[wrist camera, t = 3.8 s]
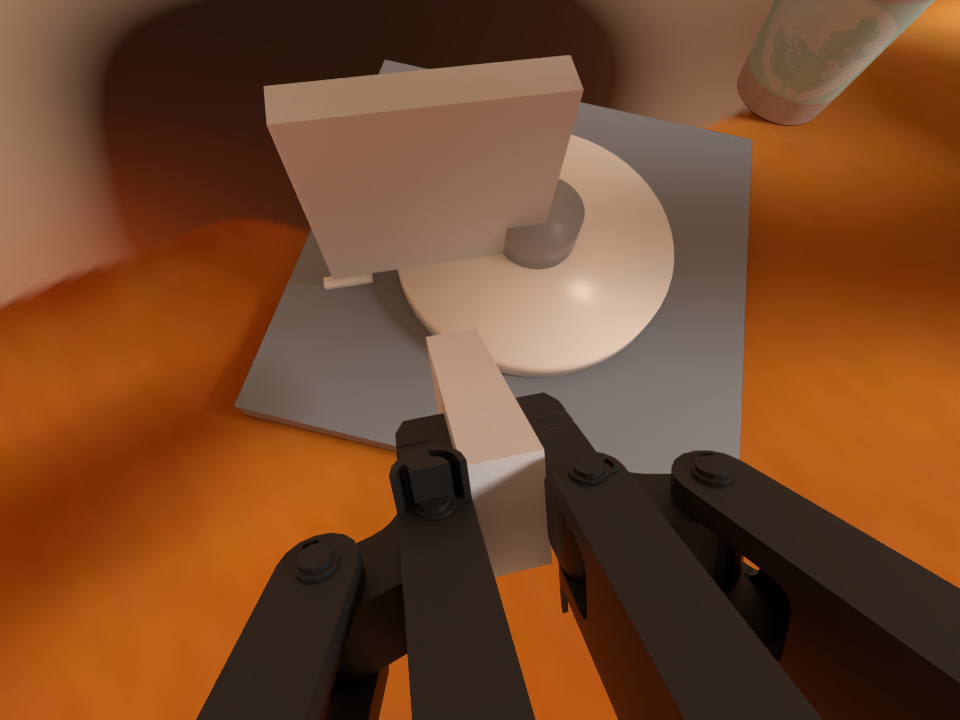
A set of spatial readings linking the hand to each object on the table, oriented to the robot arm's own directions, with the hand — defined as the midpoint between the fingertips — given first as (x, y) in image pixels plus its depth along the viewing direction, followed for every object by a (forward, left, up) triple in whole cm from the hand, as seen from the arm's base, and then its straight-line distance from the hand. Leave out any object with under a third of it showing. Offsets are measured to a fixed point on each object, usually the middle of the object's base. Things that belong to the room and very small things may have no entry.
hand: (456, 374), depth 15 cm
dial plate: (-1, -10, -10) cm, 14 cm away
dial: (0, -10, -8) cm, 13 cm away
